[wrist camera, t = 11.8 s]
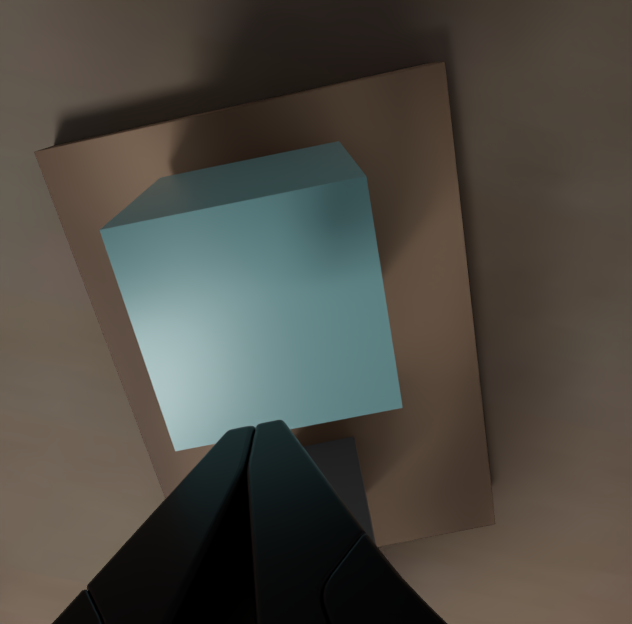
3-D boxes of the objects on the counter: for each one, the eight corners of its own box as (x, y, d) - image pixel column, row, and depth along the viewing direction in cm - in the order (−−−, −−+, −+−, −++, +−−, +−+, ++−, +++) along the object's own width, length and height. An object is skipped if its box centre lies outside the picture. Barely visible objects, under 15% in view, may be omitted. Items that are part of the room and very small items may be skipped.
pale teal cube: (207, 339, 19) (175, 451, 13) (160, 177, 17) (99, 230, 11) (367, 307, 19) (402, 407, 13) (338, 141, 17) (366, 175, 11)
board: (202, 553, 25) (197, 582, 23) (53, 146, 18) (34, 151, 17) (483, 498, 24) (495, 524, 23) (432, 62, 18) (444, 61, 17)
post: (297, 480, 24) (303, 651, 17) (283, 427, 23) (283, 584, 16) (361, 468, 24) (393, 634, 17) (349, 414, 23) (378, 565, 16)
